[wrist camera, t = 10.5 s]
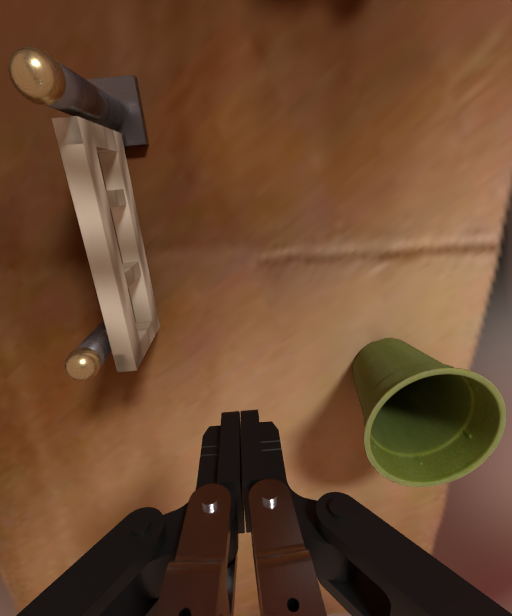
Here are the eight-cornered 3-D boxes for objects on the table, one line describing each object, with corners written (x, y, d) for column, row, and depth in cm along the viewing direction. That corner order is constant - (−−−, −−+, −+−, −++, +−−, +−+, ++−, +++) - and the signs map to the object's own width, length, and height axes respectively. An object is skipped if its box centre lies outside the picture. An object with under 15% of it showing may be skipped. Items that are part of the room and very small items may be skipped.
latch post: (103, 294, 35) (38, 350, 24) (143, 290, 35) (97, 343, 24) (112, 330, 36) (55, 400, 25) (151, 326, 37) (111, 394, 25)
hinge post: (76, 84, 29) (-47, 11, 16) (136, 78, 29) (60, 2, 16) (91, 150, 31) (-10, 130, 18) (148, 144, 31) (88, 121, 18)
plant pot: (446, 318, 38) (527, 372, 27) (420, 410, 42) (482, 488, 31) (339, 313, 37) (379, 366, 27) (323, 407, 41) (353, 486, 31)
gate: (102, 135, 29) (51, 118, 21) (121, 133, 29) (76, 116, 21) (144, 328, 35) (117, 372, 27) (159, 326, 35) (136, 370, 27)
